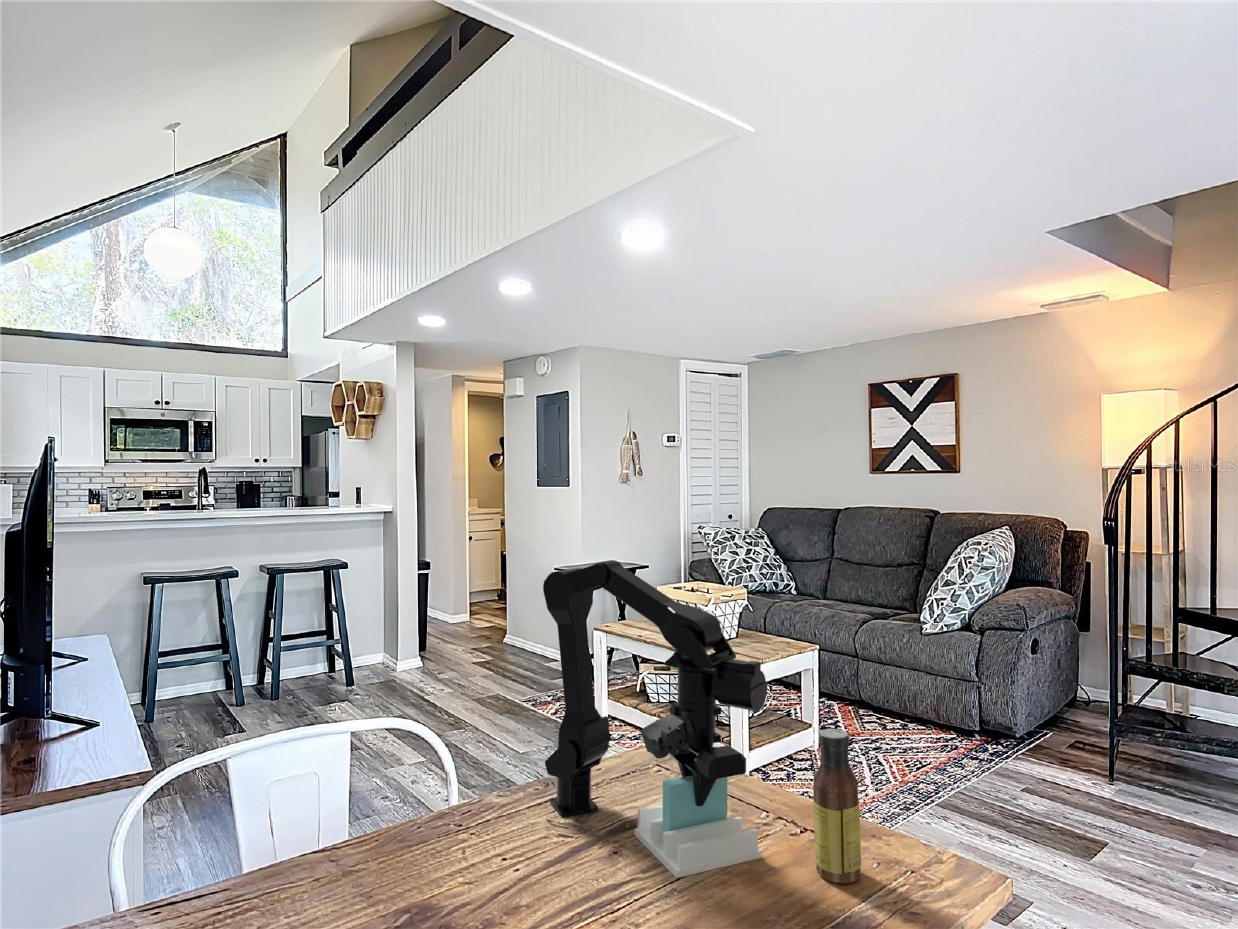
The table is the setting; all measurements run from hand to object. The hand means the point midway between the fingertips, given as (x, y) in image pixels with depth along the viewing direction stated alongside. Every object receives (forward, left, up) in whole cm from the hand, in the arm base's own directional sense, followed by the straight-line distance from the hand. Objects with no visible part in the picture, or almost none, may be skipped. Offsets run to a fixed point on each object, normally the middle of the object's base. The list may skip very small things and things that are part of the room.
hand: (695, 802), depth 116 cm
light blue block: (0, 0, -3) cm, 3 cm away
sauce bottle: (+15, +14, -7) cm, 22 cm away
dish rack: (0, 0, -6) cm, 7 cm away
